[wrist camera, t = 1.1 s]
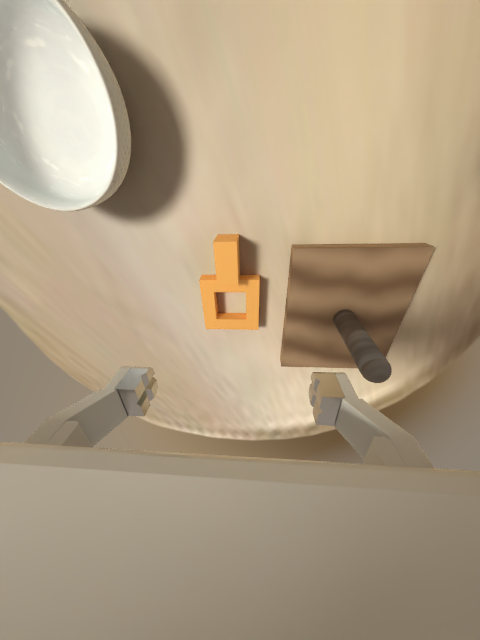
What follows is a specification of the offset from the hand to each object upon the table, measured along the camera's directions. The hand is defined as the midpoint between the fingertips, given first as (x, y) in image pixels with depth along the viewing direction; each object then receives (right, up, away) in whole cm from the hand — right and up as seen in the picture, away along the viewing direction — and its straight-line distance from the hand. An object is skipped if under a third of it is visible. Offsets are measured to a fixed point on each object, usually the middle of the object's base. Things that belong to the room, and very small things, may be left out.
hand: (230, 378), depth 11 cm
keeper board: (+17, +4, +25) cm, 31 cm away
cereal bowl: (-18, +26, +14) cm, 35 cm away
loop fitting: (-1, +9, +24) cm, 25 cm away
